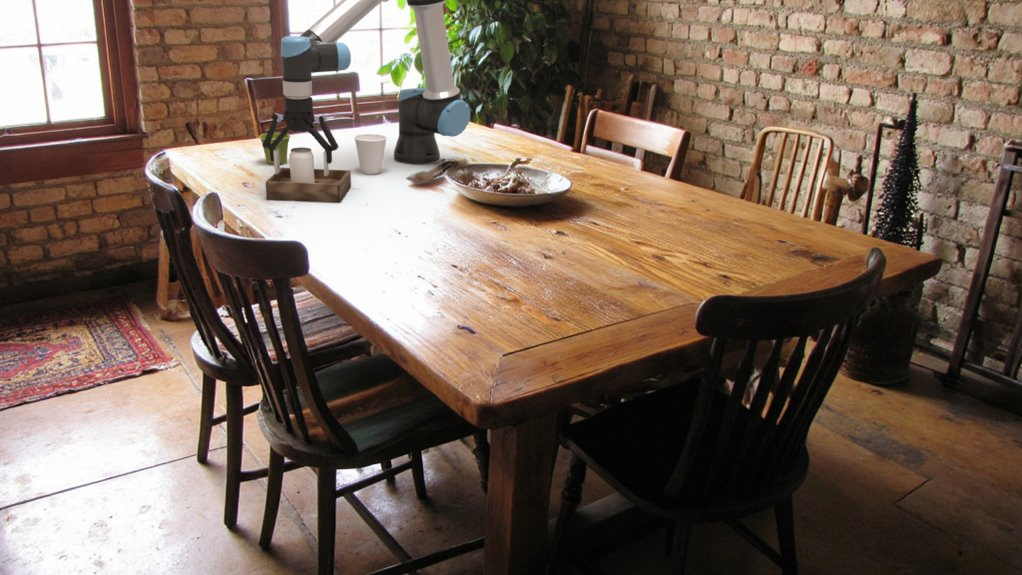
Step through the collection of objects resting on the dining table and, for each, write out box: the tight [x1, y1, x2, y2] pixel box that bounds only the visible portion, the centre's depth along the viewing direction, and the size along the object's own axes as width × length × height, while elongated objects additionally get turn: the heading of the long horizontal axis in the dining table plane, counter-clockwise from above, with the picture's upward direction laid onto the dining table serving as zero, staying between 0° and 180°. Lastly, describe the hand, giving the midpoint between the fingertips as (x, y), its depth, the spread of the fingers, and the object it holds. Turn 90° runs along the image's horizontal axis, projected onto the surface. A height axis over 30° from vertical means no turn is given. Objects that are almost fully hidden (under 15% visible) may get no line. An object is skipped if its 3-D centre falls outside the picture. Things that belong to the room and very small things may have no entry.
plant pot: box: [258, 132, 291, 166], centre depth 265 cm, size 9×9×9 cm
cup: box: [353, 133, 388, 176], centre depth 259 cm, size 10×10×11 cm
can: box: [289, 146, 315, 183], centre depth 234 cm, size 6×6×12 cm
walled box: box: [265, 167, 352, 204], centre depth 236 cm, size 20×16×5 cm
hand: (302, 173), depth 234 cm, fingers open, 13 cm apart
